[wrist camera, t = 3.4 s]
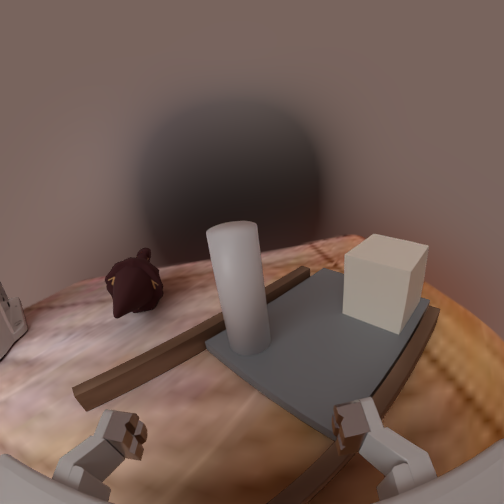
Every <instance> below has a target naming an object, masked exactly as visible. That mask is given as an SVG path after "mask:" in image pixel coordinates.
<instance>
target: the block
mask: <svg viewBox="0 0 504 504" xmlns="http://www.w3.org/2000/svg"><path fill="white" fill-rule="evenodd" d="M428 248H429V246H428V245H423V244H418V243H415V242H410V241H406V240H401V239H396V238H391V237H387V236H383V235H378V234H373V235H371V236H370V237H369V238H367V239H366V240H364V241H363V242H362V243H360V244H359V245H357V246H356V247H355V248H353V249H352V250H350V251H349V252H347V253H346V254H345V261H344V293H343V312H342V313H343V314H346V315H348V316H351V317H353V318H356V319H359V320H361V321H364V322H366V323H369V324H372V325H374V326H377V327H380V328H382V329H385V330H388V331H390V332H393V333H396V334H398V335H399V334H400V332H401V331H402V329H403V328H404V326H405V325H406V323H407V322H408V320H409V318H410V317H411V315H412V313H413V312H414V310H415V308H416V307H417V305H418V303H419V302H420V298H421V293H422V287H423V282H424V275H425V270H426V263H427V256H428Z"/></svg>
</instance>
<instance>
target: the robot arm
mask: <svg viewBox="0 0 504 504" xmlns="http://www.w3.org/2000/svg"><path fill="white" fill-rule="evenodd" d="M26 331H27V324H26V321H25V317H24V313H23V308H22V304H21V301H20V299H19V298H11V299H8V297H7V295H6V293H5V290H4V288H3V287H2V284H1V282H0V359H1V358H2V357H3V356H4V355H5V354H6V352H7V351H8V350H9V348H10V347H11V346H12V344H13V343H14V342H15V341H16V340H17V339H18V338H20V337H21V336H22V335H23V334H24V333H25V332H26ZM333 411H334V414H333V415H332V430H333V434H334V435H335V436H336V437H337V440H336V447H337V451H338V455H339V456H343V455H347V454H352V453H356V452H359V454H361V455H362V456H363V457H364V458H365V459H366V460H367V461H368V462H370V463H371V464H372V465H373V466H374V467H375V468H377V469H378V470H379V471H380V472H381V473H383V474H384V475H385V476H386V477H385V478H384V479H383V480H382V481H381V482H380V483H379V485H378V486H377V487H376V488H377V492H378V496H379V500H380V501H379V502H375V503H372V504H504V439H500V440H498V441H497V442H495V443H494V444H493V445H491V446H490V447H488V448H487V449H485V450H484V451H482V452H481V453H479V454H478V455H476V456H475V457H473V458H471V459H470V460H468V461H467V462H465V463H463V464H461V465H460V466H458V467H456V468H454V469H453V470H451V471H449V472H447V473H445V474H443V475H441V476H439V477H437V475H436V472H435V470H434V467H433V465H432V462H431V460H430V457H429V455H428V452H426V451H424V450H423V449H421V448H419V447H418V446H416V445H415V444H413V443H411V442H410V441H408V440H407V439H405V438H403V437H402V436H400V435H399V434H397V433H396V432H394V431H393V430H391V429H390V428H388V427H386V428H384V426H383V424H382V421H381V419H380V416H379V413H378V411H377V408H376V406H375V403H374V401H373V399H372V398H371V397H366V398H362V399H359V400H354V401H350V402H345V403H341V404H337V405H334V408H333ZM146 440H147V428H146V426H145V424H144V423H143V422H141V421H139V416H138V415H137V414H136V413H128V412H120V411H115V410H108V409H106V410H105V411H104V412H103V414H102V416H101V419H100V421H99V423H98V426H97V428H96V431H95V433H94V436H90V437H88V438H87V439H86V440H84V441H83V442H82V443H80V444H79V445H78V446H76V447H75V448H74V449H72V450H71V451H69V452H68V453H67V454H65V455H64V456H63V457H61V458H60V459H59V462H58V464H57V467H56V469H55V472H54V475H53V477H52V479H51V478H49V477H47V476H45V475H43V474H41V473H40V472H38V471H36V470H34V469H32V468H31V467H29V466H27V465H25V464H24V463H22V462H20V461H19V460H17V459H16V458H14V457H12V456H11V455H9V454H2V455H0V504H114V503H110V502H108V500H109V496H110V492H111V489H110V487H108V486H107V485H105V484H104V483H102V482H103V481H104V480H105V479H106V478H107V477H108V476H109V475H110V474H111V473H112V472H113V471H114V470H115V469H116V468H117V467H118V466H119V465H120V464H121V463H122V462H123V461H124V460H125V458H128V459H134V460H140V461H141V459H142V455H143V451H144V448H143V446H142V444H143V443H145V442H146Z"/></svg>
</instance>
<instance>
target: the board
mask: <svg viewBox="0 0 504 504" xmlns="http://www.w3.org/2000/svg"><path fill="white" fill-rule="evenodd" d="M206 235H207V241H208V246H209V251H210V256H211V261H212V266H213V271H214V276H215V281H216V285H217V290H218V295H219V299H220V304H221V308H222V313H223V317H224V322H225V326H226V330H224V331H222V332H221V333H219V334H217V335H215V336H214V337H212V338H210V339H209V340H207V341H205V344H206V348H207V350H208V351H209V352H210V353H212V354H213V355H214V356H215V357H216V358H218V359H219V360H220V361H221V362H222V363H224V364H225V365H226V366H227V367H229V368H230V369H231V370H232V371H234V372H235V373H236V374H237V375H239V376H240V377H241V378H243V379H244V380H245V381H247V382H248V383H249V384H250V385H252V386H253V387H254V388H256V389H257V390H259V391H260V392H261V393H263V394H264V395H265V396H267V397H268V398H270V399H271V400H272V401H274V402H275V403H277V404H278V405H279V406H281V407H282V408H284V409H285V410H287V411H288V412H290V413H291V414H293V415H294V416H296V417H297V418H299V419H300V420H302V421H303V422H305V423H306V424H308V425H309V426H311V427H313V428H314V429H316V430H317V431H319V432H321V433H322V434H324V435H326V436H327V437H329V438H331V439H332V440H334V441H336V440H337V437H336V436H335V435H334V434H333V430H332V415H333V414H334V411H333V408H334V405H337V404H341V403H345V402H350V401H354V400H359V399H362V398H366V397H371V398H372V397H373V396H374V394H375V393H376V392H377V390H378V389H379V388H380V386H381V385H382V383H383V382H384V381H385V379H386V378H387V376H388V375H389V373H390V372H391V370H392V369H393V367H394V366H395V364H396V363H397V361H398V360H399V358H400V357H401V355H402V353H403V352H404V350H405V349H406V347H407V345H408V344H409V342H410V340H411V339H412V337H413V335H414V333H415V332H416V330H417V328H418V326H419V325H420V323H421V321H422V319H423V317H424V315H425V313H426V311H427V309H428V307H429V303H430V300H428V299H425V298H420V302H419V303H418V305H417V307H416V308H415V310H414V312H413V313H412V315H411V317H410V318H409V320H408V322H407V323H406V325H405V326H404V328H403V329H402V331H401V332H400V334H399V335H398V334H396V333H393V332H390V331H388V330H385V329H382V328H380V327H377V326H374V325H372V324H369V323H366V322H364V321H361V320H359V319H356V318H353V317H351V316H348V315H346V314H343V313H342V312H343V293H344V274H342V273H339V272H336V271H332V270H329V269H326V268H323V269H321V270H320V271H318V272H317V273H315V274H314V275H312V276H311V277H309V278H308V279H306V280H305V281H303V282H302V283H300V284H298V285H297V286H295V287H294V288H292V289H291V290H289V291H288V292H286V293H284V294H283V295H281V296H280V297H278V298H277V299H275V300H273V301H272V302H270V303H269V304H267V303H266V295H265V286H264V278H263V270H262V262H261V254H260V246H259V237H258V229H257V225H256V223H253V222H249V221H234V222H227V223H223V224H220V225H216V226H214V227H212V228H210V229H209V230H208V231H207V232H206Z"/></svg>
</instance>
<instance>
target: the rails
mask: <svg viewBox="0 0 504 504" xmlns="http://www.w3.org/2000/svg"><path fill="white" fill-rule="evenodd" d="M309 277H310V268H308V267H304V266H301V267H299V268H297V269H296V270H294V271H292V272H291V273H289V274H287V275H286V276H284V277H282V278H281V279H279V280H277V281H275V282H274V283H272V284H270V285H268V286H267V287H265V295H266V303H267V304H269V303H270V302H272V301H273V300H275V299H277V298H278V297H280V296H281V295H283V294H284V293H286V292H288V291H289V290H291V289H292V288H294V287H295V286H297V285H298V284H300V283H302V282H303V281H305V280H306V279H308V278H309ZM439 312H440V309H439V308H435V307H432V306H429V308H428V309H427V311H426V313H425V315H424V317H423V319H422V321H421V323H420V325H419V326H418V328H417V330H416V332H415V333H414V335H413V337H412V339H411V340H410V342H409V344H408V345H407V347H406V349H405V350H404V352H403V353H402V355H401V357H400V358H399V360H398V361H397V363H396V364H395V366H394V367H393V369H392V370H391V372H390V373H389V375H388V376H387V378H386V379H385V381H384V382H383V383H382V385H381V386H380V388H379V389H378V390H377V392H376V393H375V394H374V396H373V397H372V399H373V401H374V403H375V406H376V408H377V411H378V413H379V416H380V419H381V420H382V418H383V417H384V415H385V414H386V413H387V411H388V410H389V408H390V407H391V405H392V404H393V402H394V401H395V399H396V398H397V396H398V394H399V393H400V391H401V390H402V388H403V386H404V385H405V383H406V381H407V380H408V378H409V376H410V375H411V373H412V371H413V369H414V368H415V366H416V364H417V362H418V360H419V358H420V357H421V355H422V353H423V351H424V349H425V347H426V345H427V343H428V341H429V339H430V337H431V335H432V332H433V330H434V328H435V326H436V323H437V319H438V316H439ZM224 330H226V326H225V322H224V317H223V313H222V312H221V313H219V314H217V315H215V316H213V317H211V318H210V319H208V320H206V321H204V322H202V323H200V324H199V325H197V326H195V327H193V328H191V329H189V330H187V331H185V332H184V333H182V334H180V335H178V336H176V337H174V338H172V339H170V340H168V341H166V342H164V343H163V344H161V345H159V346H157V347H155V348H153V349H151V350H149V351H147V352H145V353H143V354H141V355H139V356H137V357H135V358H133V359H131V360H129V361H127V362H125V363H123V364H121V365H119V366H117V367H115V368H113V369H111V370H109V371H107V372H104V373H102V374H100V375H98V376H96V377H94V378H92V379H90V380H88V381H85V382H83V383H81V384H79V385H77V386H75V387H72V389H73V393H74V397H75V398H76V399H77V400H78V402H79V403H80V404H81V406H82V407H83V408H84V409H85V410H86V411H88V410H91V409H93V408H95V407H97V406H99V405H101V404H103V403H105V402H108V401H110V400H112V399H114V398H116V397H118V396H120V395H122V394H124V393H126V392H128V391H130V390H132V389H134V388H136V387H138V386H140V385H141V384H143V383H145V382H147V381H149V380H151V379H153V378H155V377H157V376H159V375H160V374H162V373H164V372H166V371H168V370H170V369H171V368H173V367H175V366H177V365H179V364H180V363H182V362H184V361H186V360H188V359H189V358H191V357H193V356H195V355H196V354H198V353H200V352H202V351H203V350H205V349H207V348H206V344H205V341H207V340H209V339H210V338H212V337H214V336H215V335H217V334H219V333H221V332H222V331H224ZM354 454H355V453H352V454H347V455H343V456H339V455H338V451H337V447H336V441H335V442H334V443H333V444H332V445H331V446H330V447H329V448H328V450H327V451H326V452H325V453H324V454H323V455H322V456H321V457H320V458H319V459H318V460H317V461H316V462H314V463H313V464H312V465H311V466H310V467H309V468H308V469H307V470H306V471H305V472H304V473H303V474H302V475H301V476H299V477H298V478H297V479H296V480H295V481H294V482H293V483H291V484H290V485H289V486H288V487H287V488H286V489H284V490H283V491H282V492H281V493H279V494H278V495H277V496H276V497H274V498H273V499H272V500H271V501H269V502H268V503H267V504H306V503H307V502H309V501H310V500H311V499H312V498H313V497H314V496H315V495H316V494H317V493H318V492H319V491H320V490H321V489H322V488H323V487H324V486H325V485H326V484H327V483H328V482H329V481H330V480H331V479H332V478H333V477H334V476H335V475H336V474H337V473H338V472H339V471H340V470H341V469H342V468H343V467H344V466H345V464H346V463H347V462H348V461H349V460H350V459H351V458H352V457H353V455H354Z"/></svg>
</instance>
